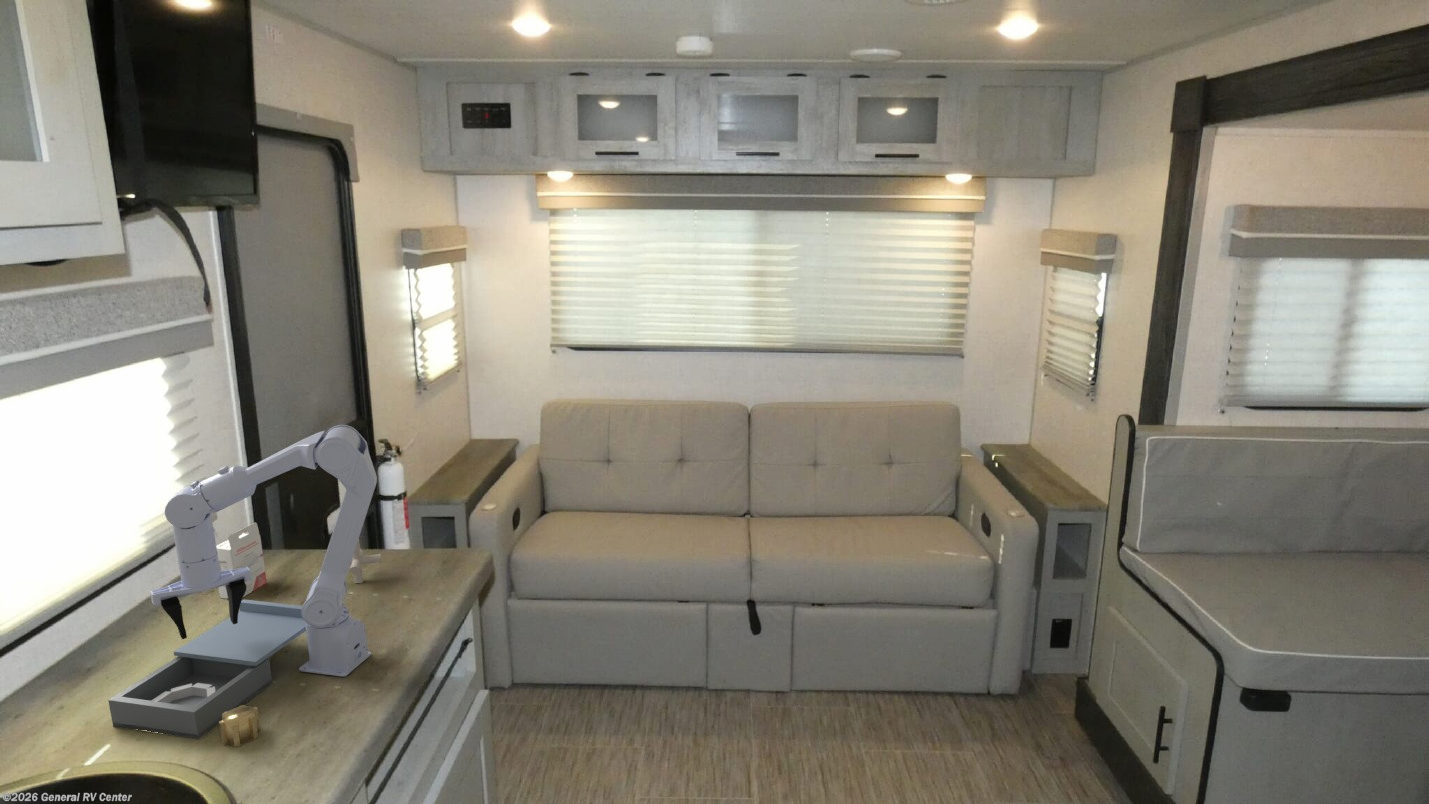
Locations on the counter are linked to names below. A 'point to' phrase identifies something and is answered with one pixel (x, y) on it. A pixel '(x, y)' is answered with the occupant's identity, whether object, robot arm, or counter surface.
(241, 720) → the ribbed brass cylinder
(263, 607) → the lid
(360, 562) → the pipe connector
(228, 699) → the housing
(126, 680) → the counter surface
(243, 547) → the ink cartridge box
